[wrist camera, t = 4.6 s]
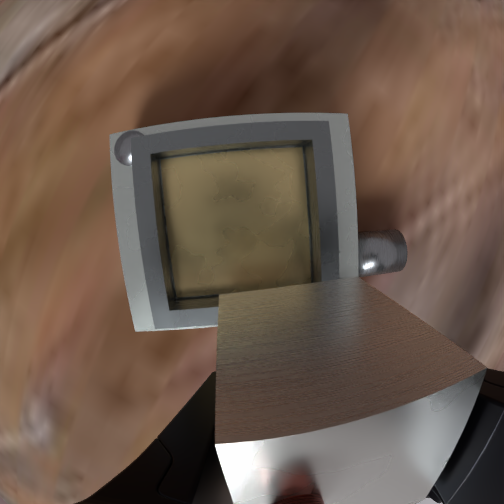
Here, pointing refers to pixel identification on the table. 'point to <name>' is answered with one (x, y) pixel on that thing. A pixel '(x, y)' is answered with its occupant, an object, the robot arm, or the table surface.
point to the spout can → (335, 396)
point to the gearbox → (237, 212)
